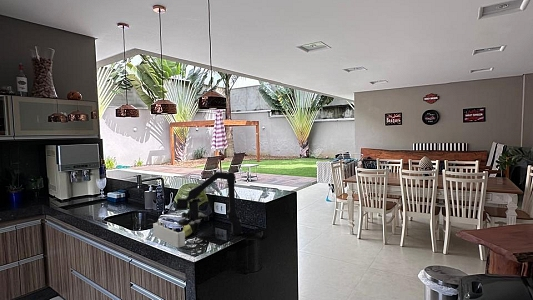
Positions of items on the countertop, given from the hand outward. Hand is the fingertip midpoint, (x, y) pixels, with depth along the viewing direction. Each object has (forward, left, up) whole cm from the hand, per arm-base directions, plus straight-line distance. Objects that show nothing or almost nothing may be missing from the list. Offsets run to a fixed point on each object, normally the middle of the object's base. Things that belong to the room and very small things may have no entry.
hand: (194, 233), depth 184 cm
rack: (+4, +15, -2) cm, 16 cm away
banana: (+9, +2, -2) cm, 10 cm away
